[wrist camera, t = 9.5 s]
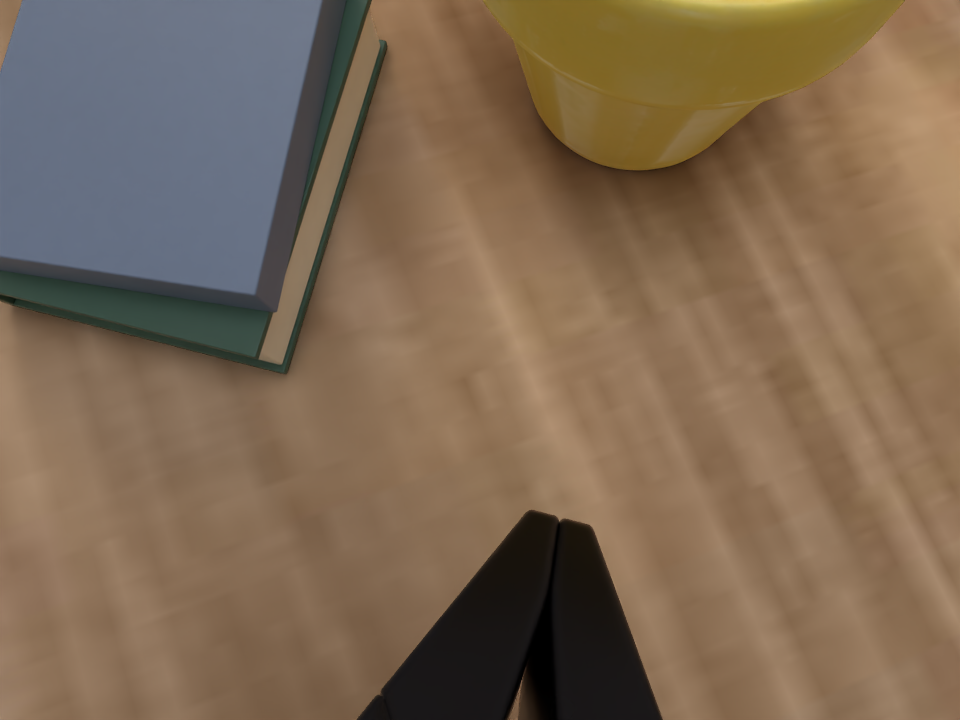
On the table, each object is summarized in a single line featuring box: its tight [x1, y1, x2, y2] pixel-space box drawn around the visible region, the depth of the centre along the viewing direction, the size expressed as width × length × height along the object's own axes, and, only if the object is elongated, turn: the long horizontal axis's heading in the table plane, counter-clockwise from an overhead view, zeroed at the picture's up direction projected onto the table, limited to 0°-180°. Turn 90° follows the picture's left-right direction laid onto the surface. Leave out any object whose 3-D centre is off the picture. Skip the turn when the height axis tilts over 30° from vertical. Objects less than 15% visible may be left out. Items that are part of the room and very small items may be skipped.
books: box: [0, 0, 387, 374], centre depth 21 cm, size 11×9×4 cm
